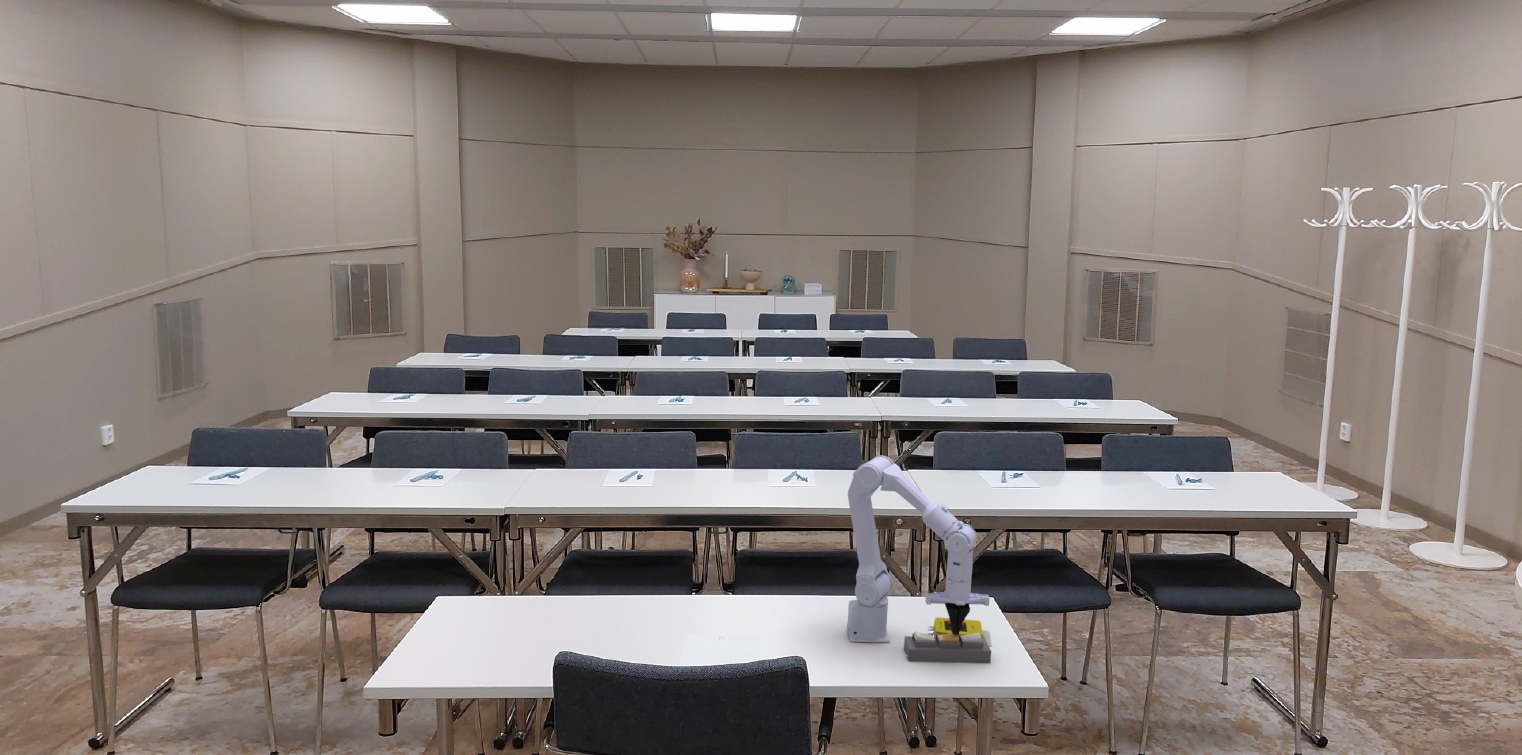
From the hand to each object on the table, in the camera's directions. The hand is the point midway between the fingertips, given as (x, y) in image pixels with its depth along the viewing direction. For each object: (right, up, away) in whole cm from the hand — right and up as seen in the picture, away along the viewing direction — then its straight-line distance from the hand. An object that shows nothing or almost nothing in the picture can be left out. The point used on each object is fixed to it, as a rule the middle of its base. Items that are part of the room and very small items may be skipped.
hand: (955, 633), depth 249 cm
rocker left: (-7, -1, 0) cm, 7 cm away
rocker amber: (-2, -1, 0) cm, 2 cm away
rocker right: (+4, -1, 0) cm, 4 cm away
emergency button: (+3, -4, +12) cm, 13 cm away
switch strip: (-2, -6, +1) cm, 6 cm away
